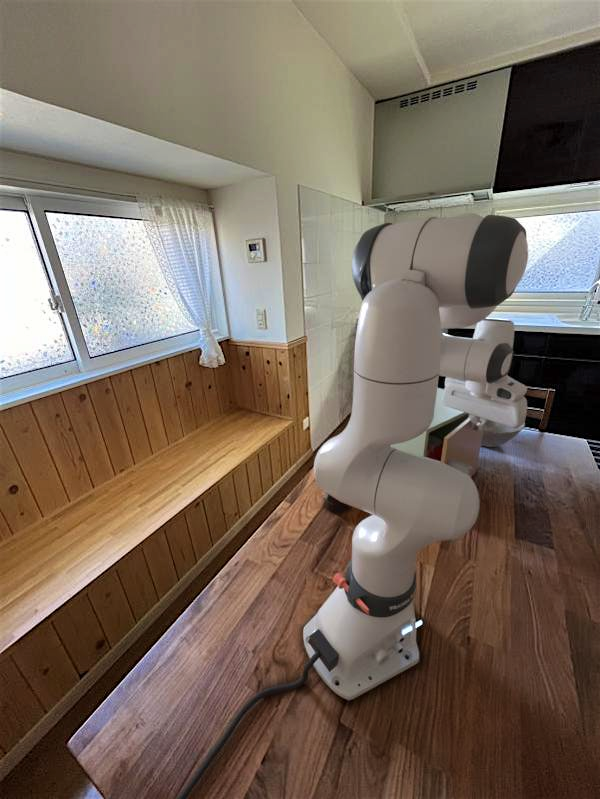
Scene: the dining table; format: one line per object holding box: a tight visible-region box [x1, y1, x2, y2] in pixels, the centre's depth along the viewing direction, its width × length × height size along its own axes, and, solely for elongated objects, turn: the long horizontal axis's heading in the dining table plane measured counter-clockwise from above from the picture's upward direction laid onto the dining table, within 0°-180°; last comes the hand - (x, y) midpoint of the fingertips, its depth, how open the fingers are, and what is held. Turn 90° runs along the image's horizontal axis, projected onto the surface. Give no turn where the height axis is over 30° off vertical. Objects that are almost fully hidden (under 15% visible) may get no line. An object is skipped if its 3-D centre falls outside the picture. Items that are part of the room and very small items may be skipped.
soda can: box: [426, 436, 443, 462], centre depth 105 cm, size 7×7×12 cm
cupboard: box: [392, 386, 469, 457], centre depth 104 cm, size 18×26×24 cm
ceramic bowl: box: [481, 420, 526, 448], centre depth 123 cm, size 22×23×10 cm
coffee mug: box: [322, 490, 348, 513], centre depth 97 cm, size 12×9×10 cm
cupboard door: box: [441, 416, 485, 478], centre depth 93 cm, size 7×26×24 cm, turn 133°
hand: (476, 429), depth 90 cm, fingers closed
